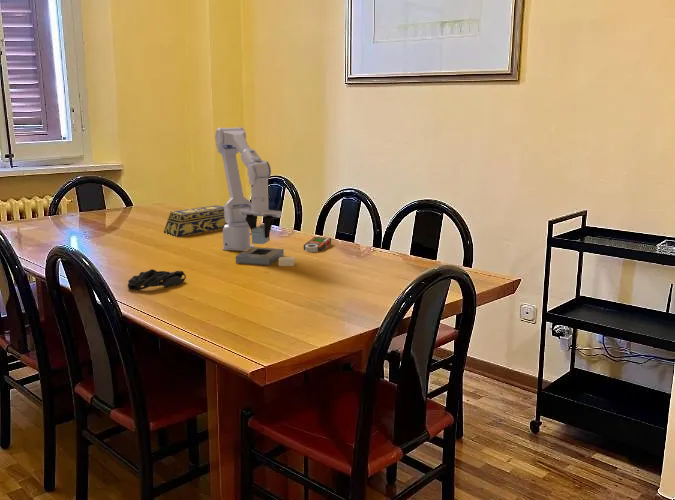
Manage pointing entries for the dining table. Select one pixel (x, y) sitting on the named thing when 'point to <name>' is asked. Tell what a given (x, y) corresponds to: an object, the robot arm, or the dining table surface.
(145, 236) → the dining table surface
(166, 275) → the cable
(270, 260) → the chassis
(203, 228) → the decorative box
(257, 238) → the block
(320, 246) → the electronic device
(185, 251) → the dining table surface
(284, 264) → the box
